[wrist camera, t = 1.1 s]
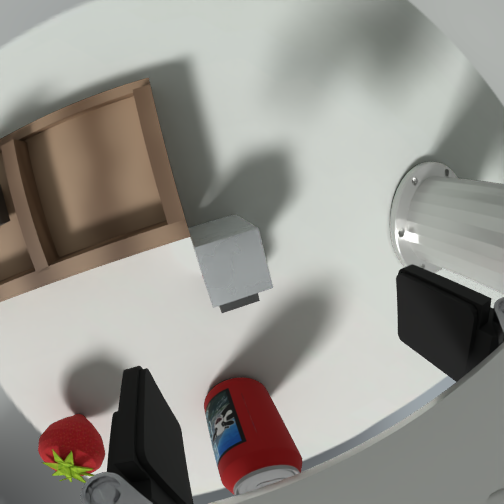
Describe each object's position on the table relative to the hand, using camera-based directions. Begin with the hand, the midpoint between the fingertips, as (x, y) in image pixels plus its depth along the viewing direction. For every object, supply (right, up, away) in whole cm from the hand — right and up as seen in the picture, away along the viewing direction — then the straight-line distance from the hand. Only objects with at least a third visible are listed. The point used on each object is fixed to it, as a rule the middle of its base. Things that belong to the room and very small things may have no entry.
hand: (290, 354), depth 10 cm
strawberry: (-20, -14, +16) cm, 29 cm away
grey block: (-4, +3, +16) cm, 17 cm away
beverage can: (-3, -12, +20) cm, 23 cm away
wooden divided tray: (-18, +7, +11) cm, 22 cm away
